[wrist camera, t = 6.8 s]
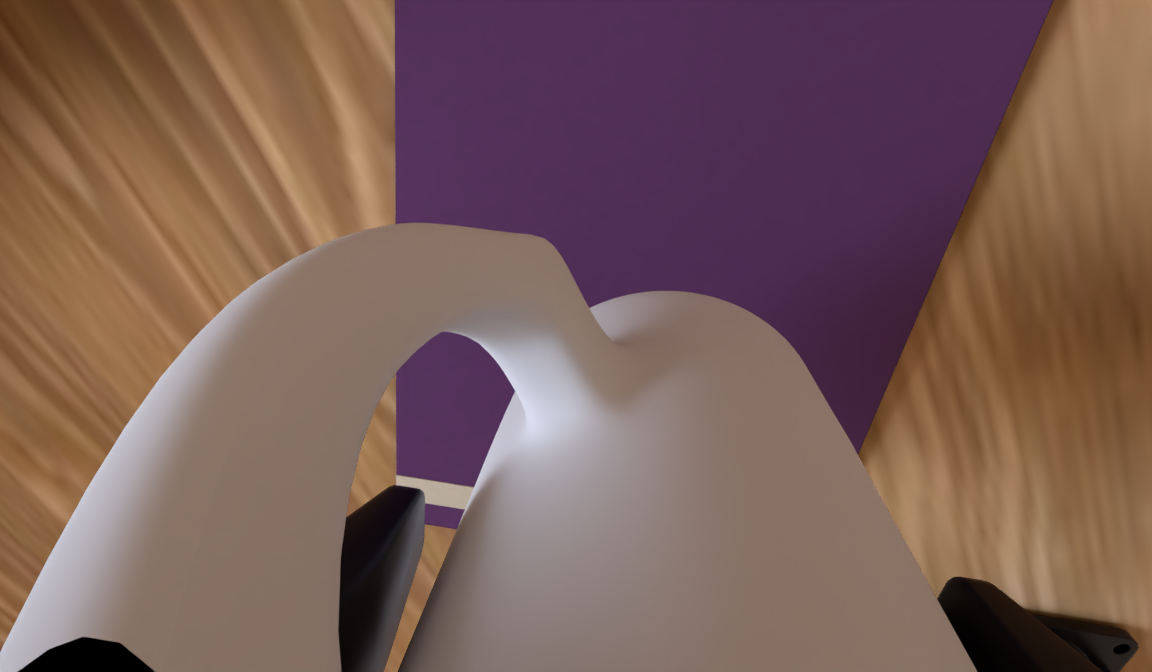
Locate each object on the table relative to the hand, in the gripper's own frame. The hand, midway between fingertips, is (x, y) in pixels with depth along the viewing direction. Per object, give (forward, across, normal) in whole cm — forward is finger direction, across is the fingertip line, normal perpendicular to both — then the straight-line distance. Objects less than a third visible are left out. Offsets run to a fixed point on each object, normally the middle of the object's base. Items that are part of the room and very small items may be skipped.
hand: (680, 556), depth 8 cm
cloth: (+10, 0, 0) cm, 10 cm away
